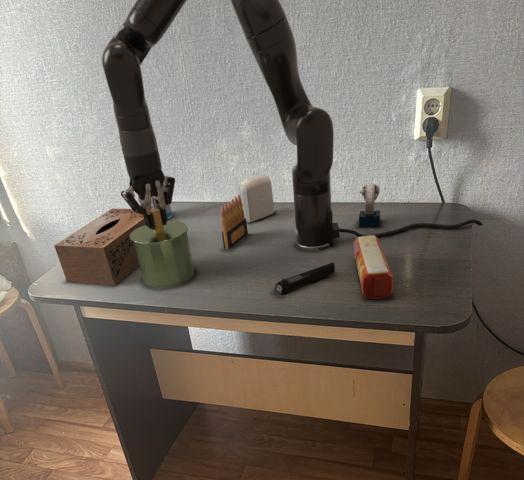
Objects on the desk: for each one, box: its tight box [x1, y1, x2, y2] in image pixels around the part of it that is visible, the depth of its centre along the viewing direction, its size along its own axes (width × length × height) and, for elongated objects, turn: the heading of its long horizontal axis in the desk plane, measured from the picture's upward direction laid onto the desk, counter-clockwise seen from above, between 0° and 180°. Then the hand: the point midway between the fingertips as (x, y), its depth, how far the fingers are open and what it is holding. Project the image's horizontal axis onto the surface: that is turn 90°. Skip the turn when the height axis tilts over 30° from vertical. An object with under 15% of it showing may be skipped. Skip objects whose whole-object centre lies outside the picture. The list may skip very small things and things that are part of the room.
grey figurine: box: [358, 182, 381, 229], centre depth 139 cm, size 6×8×11 cm
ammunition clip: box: [220, 193, 249, 250], centre depth 137 cm, size 11×2×12 cm, turn 153°
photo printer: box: [238, 174, 275, 223], centre depth 152 cm, size 10×4×12 cm, turn 127°
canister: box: [133, 231, 195, 288], centre depth 124 cm, size 13×13×12 cm
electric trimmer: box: [274, 262, 336, 296], centre depth 116 cm, size 4×16×3 cm, turn 121°
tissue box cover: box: [53, 207, 145, 287], centre depth 135 cm, size 26×14×10 cm, turn 161°
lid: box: [130, 209, 189, 245], centre depth 119 cm, size 14×14×6 cm
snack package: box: [352, 234, 394, 300], centre depth 114 cm, size 21×7×7 cm, turn 177°
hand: (157, 226), depth 120 cm, fingers closed on lid, 2 cm apart
